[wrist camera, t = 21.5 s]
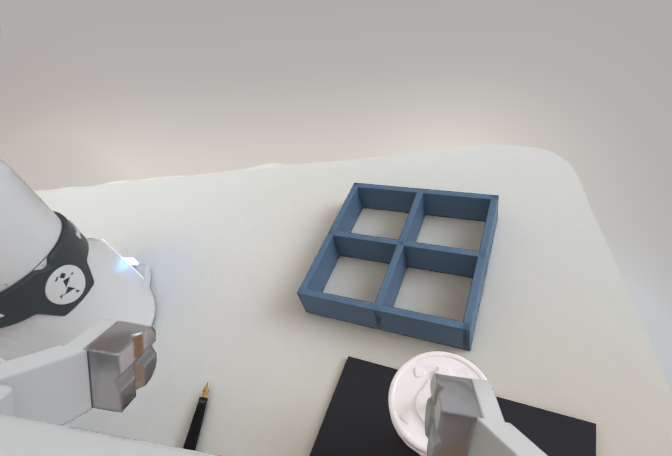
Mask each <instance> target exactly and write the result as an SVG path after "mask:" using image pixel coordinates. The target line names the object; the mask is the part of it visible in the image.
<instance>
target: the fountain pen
mask: <svg viewBox="0 0 672 456" xmlns="http://www.w3.org/2000/svg"><path fill="white" fill-rule="evenodd" d="M208 391H209V388H208V383H207V385H206V387H205V388H204V390H203V394H202V397H200V398H199V402H198V405H197V408H196V411H195V414H194V417H193V420H192V423H191V426H190V429H189V432H188V435H187V438H186V441H185V444H184V447H183V449H188V450H194V451H195V448H196V444H197V440H198V436H199V432H200V428H201V424H202V420H203V416H204V412H205V408H206V404H207V400H208V399H207V394H208Z"/></svg>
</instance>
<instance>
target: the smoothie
mask: <svg viewBox="0 0 672 456" xmlns="http://www.w3.org/2000/svg"><path fill="white" fill-rule="evenodd" d="M434 373H435V374H442V375H449V376H455V377H462V378H469V379H470V378H471V379H479V380H487V379H486V377H485V376H484V374H483V373H482V372H481V371H480V370H479V369H478V368H477V367H476V366H475V365H474V364H473V363H471V362H470V361H468V360H467V359H465V358H463V357H461V356H459V355H456V354H453V353H449V352H442V351H433V352H426V353H422V354H420V355H417V356H415V357H413V358H411V359H410V360H408V361H407V362H405V363H404V364H403V365H402V366H401V367H400V368H399V370H398V371H397V372H396V374H395V376H394V377H393V380H392V382H391V385H390V389H389V395H388V404H389V410H390V415H391V420H392V423H393V425H394V427H395V429H396V431H397V433H398V435H399V436H400V437H401V438H402V440H403V441H404V442H405V443H406V444H407V446H409V447H410V448H412V449H413V450H414V451H416V452H417V453H419V454H420V456H427V444H428V438H427V437H426V435H425V411H426V405H427V399H429V398H430V397H431V388H430V384H431V380H432V376H433V374H434ZM487 381H488V380H487Z"/></svg>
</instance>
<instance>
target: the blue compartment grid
mask: <svg viewBox="0 0 672 456" xmlns="http://www.w3.org/2000/svg"><path fill="white" fill-rule="evenodd" d="M498 199H499V196H498V195H486V194H475V193H464V192H453V191H441V190H430V189H419V188H407V187H396V186H385V185H374V184H362V183H354V185H353V187H352V188H351V190H350V192H349V194H348V196H347V198H346V200H345V202H344V204H343V206H342V208H341V210H340V212H339V213H338V215H337V217H336V219H335V221H334V223H333V225H332V227H331V229H330V231H329V233H328V235H327V236H326V238H325V240H324V242H323V244H322V246H321V248H320V250H319V252H318V254H317V256H316V258H315V260H314V261H313V263H312V265H311V267H310V269H309V271H308V273H307V275H306V277H305V279H304V281H303V283H302V284H301V286H300V288H299V290H298V292H297V294H298V296H299V298H300V300H301V302H302V304H303V306H304V308H305V310H306V312H309V313H313V314H317V315H321V316H326V317H330V318H334V319H338V320H343V321H347V322H351V323H355V324H359V325H364V326H368V327H372V328H376V329H381V330H385V331H389V332H393V333H397V334H402V335H406V336H410V337H414V338H419V339H423V340H427V341H431V342H435V343H440V344H444V345H448V346H452V347H457V348H461V349H465V350H469V351H470V349H471V344H472V339H473V334H474V330H475V325H476V320H477V315H478V310H479V305H480V300H481V296H482V291H483V286H484V281H485V276H486V271H487V266H488V261H489V257H490V252H491V247H492V242H493V237H494V232H495V227H496V223H497V216H498ZM363 207H365V208H374V209H382V210H391V211H400V212H409V215H408V217H407V220H406V223H405V225H404V228H403V230H402V233H401V236H400V238H399V240H396V239H389V238H382V237H375V236H368V235H361V234H354V233H351V231H352V228H353V226H354V224H355V222H356V220H357V218H358V216H359V214H360V212H361V210H362V208H363ZM425 214H426V215H435V216H444V217H453V218H462V219H471V220H479V221H486V223H485V228H484V232H483V236H482V241H481V245H480V250H479V251H474V250H467V249H460V248H453V247H446V246H439V245H432V244H425V243H418V242H416V239H417V236H418V234H419V231H420V228H421V225H422V222H423V219H424V216H425ZM340 255H342V256H348V257H354V258H360V259H366V260H372V261H378V262H384V263H390V265H389V267H388V270H387V272H386V275H385V278H384V280H383V283H382V285H381V288H380V291H379V293H378V296H377V299H376V301H375V303H371V302H366V301H361V300H356V299H352V298H347V297H342V296H337V295H333V294H328V293H323V292H322V291H323V289H324V287H325V285H326V283H327V281H328V279H329V276H330V274H331V272H332V270H333V268H334V266H335V264H336V262H337V260H338V258H339V256H340ZM407 266H408V267H414V268H419V269H425V270H431V271H437V272H443V273H449V274H455V275H461V276H467V277H473V281H472V285H471V289H470V294H469V298H468V303H467V307H466V311H465V316H464V320H463V322H460V321H456V320H451V319H446V318H442V317H437V316H432V315H427V314H423V313H418V312H413V311H408V310H404V309H399V308H394V307H393V305H394V302H395V300H396V297H397V294H398V291H399V288H400V285H401V282H402V279H403V277H404V274H405V271H406V268H407Z"/></svg>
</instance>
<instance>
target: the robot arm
mask: <svg viewBox="0 0 672 456" xmlns="http://www.w3.org/2000/svg"><path fill="white" fill-rule="evenodd" d="M151 275H152V272H151V269H150V268H148V267H147V266H146V265H144V264H139V263H138V262H137V261H136V259H135V258H126V257H122V256H121V255H120V254H119V253H118V252H117V251H116V250H115V249H114V248H113V247H111V246H110V245H109V244H108V243H107V242H106V241H105V240H103V239H101V238H99V239H94V238H88V239H86V238H85V237H84V236H83V235H82V234H81V233H80V231H79V229H78V228H77V227H76V226H75V225H74V224H73V223H72V222H71V221H69V220H67V219H66V218H65V217H64V216H63V215H62V214H60V213H58V212H54V211H52V210H51V209H50V208H49V207H48V206H47V205H46V204H45V203H44V202H43V200H42V199H41V198H40V197H39V196H38V195H37V194H36V193H35V192H34V191H33V190H32V189H31V188H30V187H29V186H28V185H27V184H26V183H25V182H24V181H23V180H22V179H21V178H20V177H19V176H18V175H17V174H16V173H15V172H14V171H13V170H12V169H11V167H10V166H9V165H7V164H6V163H5V162H4V161H2V160H0V456H220V455H215V454H209V453H204V452H199V451H194V450H188V449H183V448H178V447H173V446H167V445H162V444H157V443H152V442H146V441H141V440H136V439H131V438H126V437H120V436H115V435H110V434H105V433H99V432H94V431H89V430H84V429H78V428H73V427H68V426H63V425H64V424H66V423H68V422H70V421H71V420H73V419H75V418H77V417H79V416H81V415H82V414H84V413H86V412H88V411H90V410H92V408H97V409H103V410H110V411H116V412H123V410H124V409H125V408H126V407H127V406H128V405H129V404H130V402H131V401H132V400H133V399H134V398H135V397H136V389H138V388H141V387H143V386H145V385H146V384H147V383H148V381H149V380H150V379H151V377H152V375H153V372H154V370H155V367H156V361H157V356H156V352H155V350H154V349H153V347H152V346H151V345H152V344H153V343H154V342H155V341H156V333H155V329H154V328H153V327H152V326H151V325H152V323H153V319H154V315H155V299H154V296H153V294H152V291H151V288H150V282H151ZM430 388H431V397H430V398H429V399H427V405H426V411H425V435H426V437H427V438H428V444H427V456H548V455H546V454H545V453H544V452H543V451H542V450H541V449H539V448H538V447H537V446H536V445H535V444H534V443H533V442H531V441H530V440H529V439H528V438H527V437H526V436H524V435H523V434H522V433H521V432H520V431H519V430H518V429H516V428H515V427H514V426H513V425H512V424H511V423H507V422H505V421H504V419H503V416H502V413H501V410H500V407H499V404H498V402H497V399H496V396H495V393H494V390H493V388H492V385H491V383H490V382H489V381H487V380H479V379H471V378H470V379H469V378H462V377H455V376H449V375H442V374H435V373H434V374H433V376H432V380H431V384H430Z"/></svg>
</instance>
